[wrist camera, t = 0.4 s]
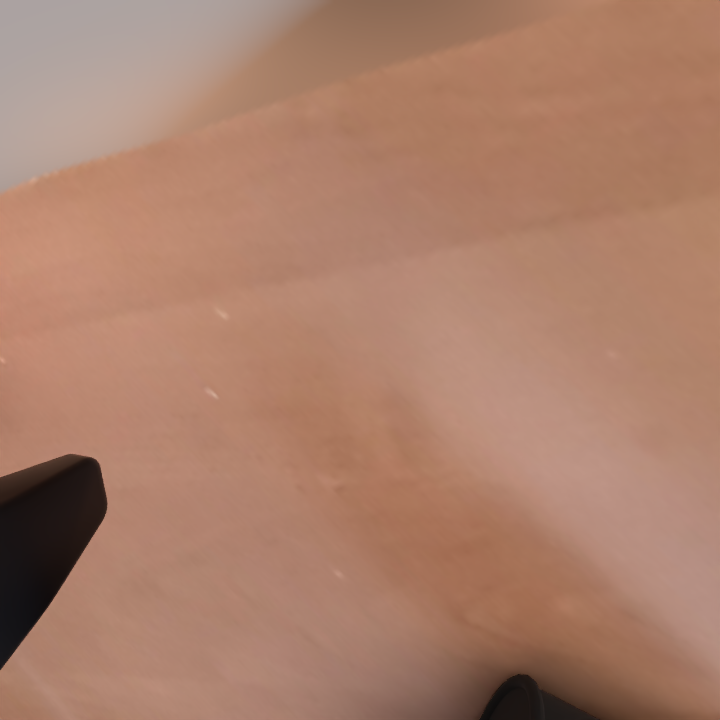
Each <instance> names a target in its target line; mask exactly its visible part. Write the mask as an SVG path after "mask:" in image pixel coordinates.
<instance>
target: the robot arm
mask: <svg viewBox="0 0 720 720" xmlns="http://www.w3.org/2000/svg"><path fill="white" fill-rule="evenodd" d="M106 511H107V497H106V492H105V487H104V483H103V478H102V473H101V468H100V465H99V463H98V462H97V460H96V459H94V458H92V457H87V456H81V455H76V454H68V455H65V456H62V457H59V458H56V459H53V460H50V461H47V462H44V463H41V464H38V465H35V466H33V467H30V468H27V469H24V470H21V471H18V472H15V473H12V474H9V475H6V476H3V477H0V670H1V669H2V667H3V666H4V665H5V663H6V662H7V661H8V659H9V658H10V657H11V656H12V654H13V653H14V652H15V650H16V649H17V648H18V646H19V645H20V644H21V642H22V641H23V640H24V638H25V637H26V636H27V634H28V633H29V632H30V631H31V629H32V628H33V627H34V625H35V624H36V623H37V621H38V620H39V619H40V617H41V616H42V614H43V613H44V612H45V610H46V609H47V608H48V606H49V605H50V603H51V602H52V600H53V599H54V597H55V596H56V594H57V593H58V591H59V589H60V588H61V586H62V585H63V583H64V581H65V580H66V578H67V577H68V575H69V573H70V572H71V570H72V569H73V567H74V565H75V564H76V562H77V561H78V559H79V557H80V556H81V554H82V553H83V551H84V550H85V548H86V546H87V545H88V543H89V542H90V540H91V538H92V537H93V535H94V534H95V532H96V530H97V529H98V527H99V526H100V524H101V522H102V521H103V519H104V517H105V514H106Z"/></svg>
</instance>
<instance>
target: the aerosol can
mask: <svg viewBox="0 0 720 720" xmlns="http://www.w3.org/2000/svg"><path fill="white" fill-rule="evenodd" d="M480 720H599V719H597V718H595V717H593V716H591V715H589V714H587V713H586V712H584V711H582V710H580V709H578V708H576V707H574V706H572V705H570V704H568V703H566V702H564V701H562V700H560V699H558V698H556V697H554V696H553V695H551V694H549V693H547V692H545V691H543V690H541V689H539V687H538V685H537V683H536V682H535V681H534V680H533V679H532V678H531V677H529V676H528V675H524V674H518V675H515V676H513V677H511V678H509V679H508V680H507V681H506V682H504V683H503V684H502V685H501V686H500V688H499V689H498V690H497V691H496V693H495V694H494V696H493V697H492V699H491V700H490V702H489V703H488V705H487V707H486V709H485V710H484V712H483V714H482V716H481V718H480Z"/></svg>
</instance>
